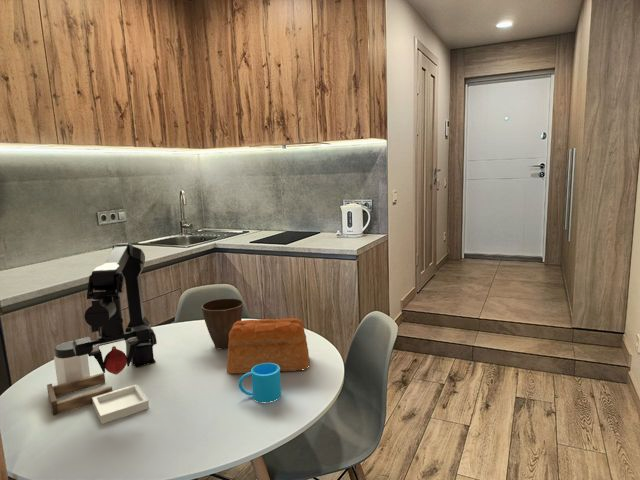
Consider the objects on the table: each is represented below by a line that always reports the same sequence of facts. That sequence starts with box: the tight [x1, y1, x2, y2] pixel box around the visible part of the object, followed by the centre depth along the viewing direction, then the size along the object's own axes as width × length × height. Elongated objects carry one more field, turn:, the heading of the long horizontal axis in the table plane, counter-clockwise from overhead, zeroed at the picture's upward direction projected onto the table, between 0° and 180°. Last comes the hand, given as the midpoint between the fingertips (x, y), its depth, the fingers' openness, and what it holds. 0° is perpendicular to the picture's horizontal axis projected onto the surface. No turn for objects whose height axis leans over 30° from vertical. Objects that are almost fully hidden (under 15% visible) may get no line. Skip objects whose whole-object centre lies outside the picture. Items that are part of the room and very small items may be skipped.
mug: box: [237, 363, 282, 403], centre depth 124 cm, size 12×8×8 cm
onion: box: [103, 345, 127, 376], centre depth 119 cm, size 6×6×8 cm
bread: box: [226, 317, 310, 374], centre depth 143 cm, size 14×27×15 cm, turn 92°
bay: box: [46, 372, 114, 416], centre depth 126 cm, size 15×12×4 cm
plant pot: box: [201, 298, 244, 350], centre depth 160 cm, size 15×15×16 cm
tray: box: [92, 384, 150, 425], centre depth 121 cm, size 12×12×2 cm
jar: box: [53, 339, 91, 385], centre depth 136 cm, size 9×8×12 cm
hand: (116, 369), depth 119 cm, fingers closed on onion, 6 cm apart
